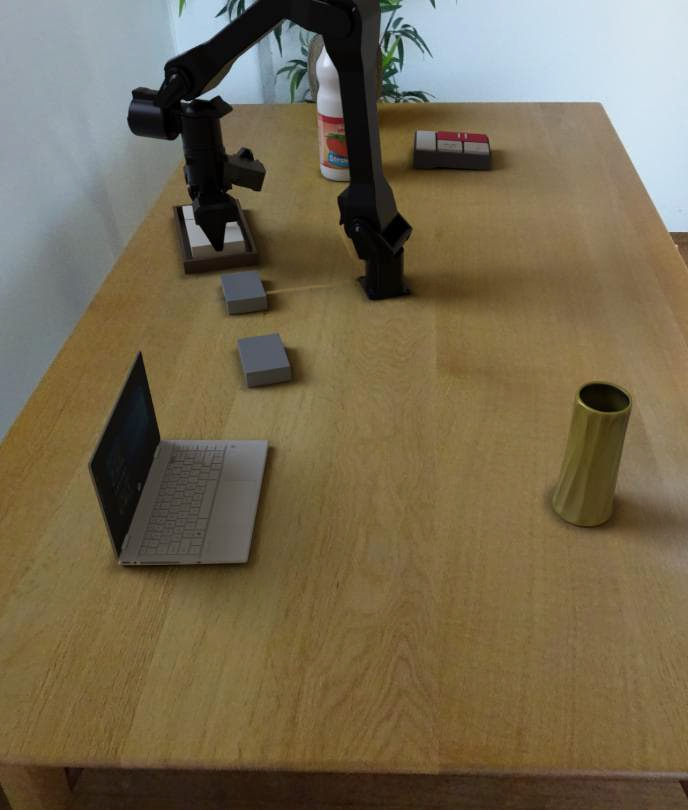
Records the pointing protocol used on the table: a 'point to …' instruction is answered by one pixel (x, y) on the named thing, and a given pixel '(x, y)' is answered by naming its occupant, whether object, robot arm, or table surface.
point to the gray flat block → (264, 360)
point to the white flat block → (205, 249)
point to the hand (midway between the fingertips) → (217, 242)
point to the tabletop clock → (314, 54)
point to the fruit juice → (330, 122)
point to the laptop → (172, 486)
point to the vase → (593, 453)
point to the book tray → (219, 261)
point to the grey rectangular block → (243, 292)
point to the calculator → (451, 150)
